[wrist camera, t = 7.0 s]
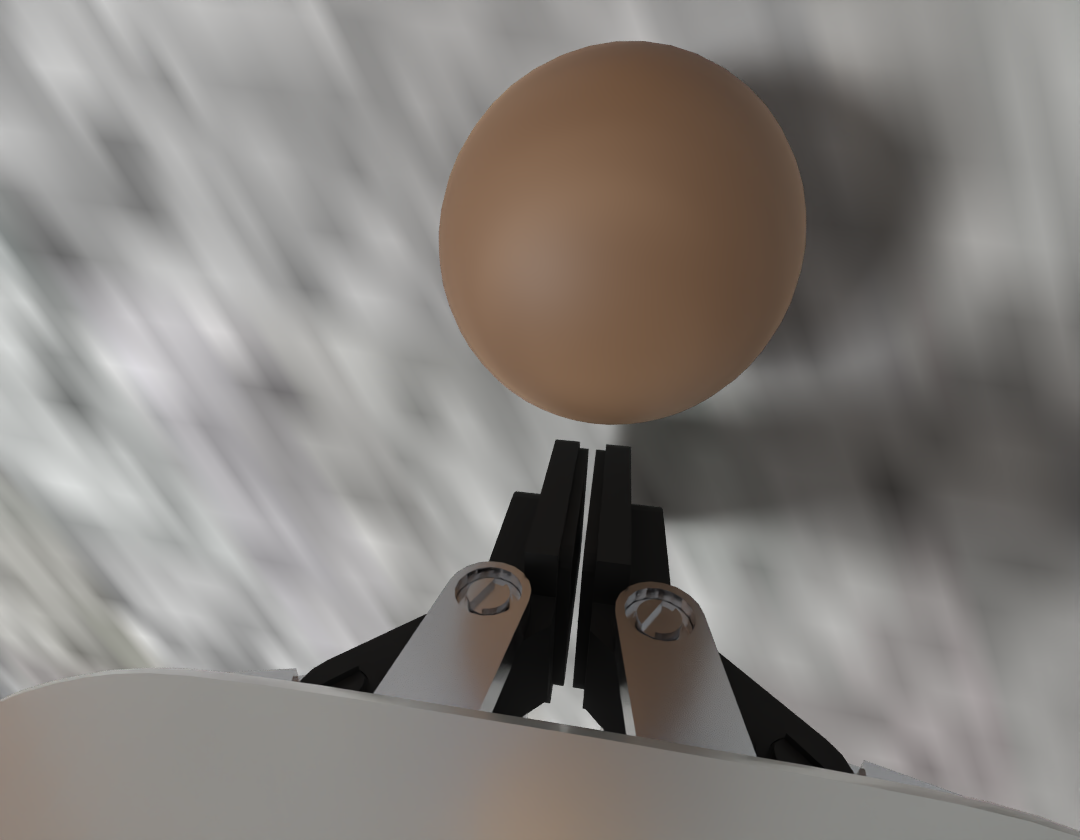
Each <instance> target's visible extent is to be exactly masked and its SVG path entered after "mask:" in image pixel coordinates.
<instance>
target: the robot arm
mask: <svg viewBox="0 0 1080 840" xmlns="http://www.w3.org/2000/svg"><path fill="white" fill-rule="evenodd" d="M588 452H589V449H584V448H580V442H576V441H566V440H556V441H555V444H554V448H553V451H552V455H551V459H550V462H549V466H548V469H547V473H546V476H545V480H544V484H543V487H542V491H541V494H535V493H526V492H517V491H516V492H514V494H513V497H512V499H511V502H510V505H509V508H508V510H507V513H506V516H505V519H504V521H503V524H502V527H501V530H500V532H499V535H498V538H497V541H496V543H495V546H494V549H493V552H492V554H491V557H490V560H489V562H479V563H476V564H473V565H469V566H467V567H465V568H463V569H462V570H460V571H458V572H457V573H456V574H455V575H454V576H453V577H452V578H451V579H450V580H449V582H448V583H447V585H446V586H445V588H444V589H443V591H442V592H441V594H440V595H439V597H438V598H437V600H436V601H435V603H434V604H433V606H432V607H431V609H430V610H429V612H428V613H427V614H425V615H423V616H421V617H419V618H417V619H415V620H413V621H410V622H408V623H406V624H404V625H402V626H400V627H398V628H395V629H393V630H391V631H389V632H387V633H385V634H383V635H380V636H378V637H376V638H374V639H372V640H370V641H368V642H366V643H363V644H361V645H359V646H357V647H355V648H353V649H351V650H348V651H346V652H344V653H342V654H340V655H338V656H336V657H333V658H331V659H329V660H327V661H325V662H324V663H322V664H320V665H319V666H317V667H315V668H314V669H312V670H311V671H310V672H309V673H308V674H307V675H303V676H298V674H297V670H296V669H278V670H259V671H241V672H218V671H208V670H198V669H188V668H136V669H121V670H107V671H101V672H96V673H90V674H84V675H78V676H73V677H67V678H63V679H59V680H55V681H51V682H47V683H43V684H40V685H37V686H34V687H31V688H28V689H25V690H21V691H19V692H16V693H14V694H12V695H10V696H7V697H5V698H3V699H0V840H1080V831H1077V830H1075V829H1072V828H1069V827H1067V826H1064V825H1061V824H1059V823H1056V822H1053V821H1051V820H1048V819H1045V818H1043V817H1040V816H1036V815H1033V814H1029V813H1026V812H1022V811H1019V810H1015V809H1012V808H1009V807H1005V806H1002V805H998V804H995V803H991V802H988V801H983V800H978V799H974V798H969V797H965V796H962V795H959V794H956V793H953V792H951V791H948V790H945V789H942V788H939V787H937V786H934V785H931V784H928V783H926V782H923V781H920V780H917V779H915V778H912V777H909V776H906V775H903V774H901V773H898V772H895V771H892V770H890V769H887V768H884V767H881V766H878V765H876V764H873V763H870V762H867V761H865V760H864V761H863V763H862V765H861V767H857V766H854V765H852V764H849V763H847V761H846V760H845V758H844V757H843V756H842V754H841V753H840V752H839V751H838V750H837V749H836V748H835V747H834V746H833V745H831V744H830V743H829V742H828V741H827V740H826V739H825V738H824V737H823V736H821V735H820V734H819V733H818V732H816V731H815V730H814V729H813V728H811V727H810V726H809V725H808V724H806V723H805V722H804V721H803V720H802V719H800V718H799V717H798V716H797V715H795V714H794V713H793V712H792V711H790V710H789V709H788V708H787V707H786V706H784V705H783V704H782V703H781V702H779V701H778V700H777V699H776V698H774V697H773V696H772V695H771V694H769V693H768V692H767V691H766V690H765V689H763V688H762V687H761V686H760V685H758V684H757V683H756V682H755V681H753V680H752V679H751V678H750V677H749V676H747V675H746V674H745V673H744V672H742V671H741V670H740V669H739V668H737V667H736V666H735V665H734V664H732V663H731V662H730V661H729V660H728V659H726V658H725V657H724V656H723V655H721V654H720V653H719V652H718V650H717V648H716V645H715V642H714V639H713V637H712V634H711V631H710V629H709V626H708V623H707V620H706V618H705V615H704V613H703V611H702V609H701V608H700V606H699V604H698V603H697V602H696V601H695V600H694V599H693V598H692V597H691V596H690V595H688V594H687V593H685V592H684V591H682V590H680V589H679V588H676V587H674V586H671V585H670V575H669V565H668V555H667V546H666V536H665V526H664V516H663V509H662V508H661V507H654V506H645V505H635V504H631V447H628V446H618V445H607V444H606V451H604V450H596V456H595V464H594V473H593V481H592V489H591V498H590V506H589V514H588V523H587V531H586V540H585V548H584V557H583V568H582V579H581V592H580V604H579V617H578V629H577V642H576V654H575V666H574V679H573V687H574V688H580V689H584V699H583V709H586V710H587V711H588V712H589V713H590V715H591V716H592V717H593V718H594V719H595V720H596V722H597V723H598V724H599V725H600V726H601V730H595V729H589V728H582V727H576V726H570V725H564V724H558V723H552V722H546V721H540V720H534V719H528V713H529V712H530V711H532V710H533V709H535V708H536V707H538V706H539V705H541V704H542V703H544V702H546V703H550V700H551V694H552V687H553V684H555V685H561V686H564V680H565V672H566V664H567V657H568V649H569V641H570V633H571V625H572V618H573V610H574V602H575V594H576V586H577V578H578V571H579V563H580V554H581V543H582V530H583V517H584V504H585V491H586V478H587V465H588Z"/></svg>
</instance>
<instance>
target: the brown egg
mask: <svg viewBox="0 0 1080 840" xmlns="http://www.w3.org/2000/svg"><path fill="white" fill-rule="evenodd" d="M805 247H806V206H805V197H804V189H803V183H802V180H801V176H800V172H799V169H798V165H797V162H796V159H795V157H794V154H793V152H792V150H791V148H790V146H789V144H788V141H787V139H786V137H785V135H784V133H783V131H782V128H781V127H780V125H779V124H778V122H777V121H776V119H775V118H774V116H773V115H772V113H771V112H770V110H769V109H768V107H767V106H766V105H765V104H764V103H763V102H762V100H761V99H760V98H759V97H758V96H757V95H756V94H755V93H754V92H753V91H752V90H751V89H750V88H749V87H748V86H747V85H746V84H745V83H743V82H742V81H741V80H739V79H738V78H737V77H735V76H734V75H733V74H731V73H730V72H729V71H727V70H726V69H725V68H723V67H721V66H719V65H717V64H715V63H713V62H712V61H710V60H708V59H706V58H704V57H702V56H700V55H698V54H696V53H693V52H690V51H687V50H684V49H680V48H677V47H674V46H671V45H665V44H659V43H652V42H646V41H616V42H610V43H604V44H598V45H592V46H588V47H585V48H582V49H579V50H576V51H572V52H569V53H566V54H563V55H561V56H559V57H557V58H555V59H553V60H551V61H549V62H547V63H545V64H543V65H541V66H539V67H538V68H536V69H534V70H532V71H531V72H530V73H528V74H527V75H525V76H524V77H523V78H521V79H520V80H518V81H517V82H516V83H514V84H513V85H511V86H510V87H509V88H508V89H507V90H506V91H505V92H504V93H503V94H502V95H501V96H500V97H499V98H498V99H497V100H496V101H495V102H494V103H493V104H492V105H491V106H490V107H489V109H488V110H487V111H486V113H485V114H484V115H483V116H482V118H481V119H480V120H479V121H478V123H477V124H476V126H475V127H474V129H473V130H472V132H471V133H470V135H469V137H468V139H467V140H466V142H465V144H464V146H463V147H462V149H461V151H460V152H459V154H458V157H457V159H456V162H455V164H454V167H453V169H452V172H451V174H450V177H449V180H448V184H447V188H446V192H445V196H444V200H443V205H442V209H441V218H440V227H439V256H440V266H441V273H442V279H443V286H444V289H445V292H446V296H447V299H448V303H449V306H450V308H451V311H452V313H453V315H454V318H455V320H456V322H457V325H458V327H459V329H460V331H461V333H462V335H463V337H464V338H465V340H466V342H467V343H468V345H469V347H470V348H471V350H472V351H473V352H474V353H475V355H476V356H477V357H478V359H479V360H480V361H481V363H482V364H483V365H484V366H485V367H486V368H487V369H488V370H489V371H490V372H491V373H492V374H493V375H494V376H495V377H496V378H497V380H498V381H500V382H501V383H502V384H503V385H504V386H506V387H507V388H508V389H509V390H511V391H512V392H513V393H515V394H516V395H518V396H519V397H521V398H522V399H524V400H525V401H527V402H529V403H531V404H533V405H535V406H537V407H539V408H541V409H543V410H545V411H548V412H550V413H553V414H555V415H558V416H562V417H565V418H569V419H572V420H576V421H582V422H587V423H594V424H606V425H617V424H633V423H642V422H648V421H652V420H657V419H662V418H665V417H668V416H671V415H674V414H677V413H680V412H682V411H684V410H687V409H689V408H691V407H693V406H696V405H697V404H699V403H701V402H703V401H704V400H706V399H708V398H710V397H711V396H713V395H714V394H716V393H717V392H718V391H720V390H721V389H723V388H724V387H725V386H727V385H728V384H729V383H731V382H732V381H733V380H735V379H736V378H737V377H738V376H739V375H740V374H741V373H742V372H743V371H744V370H746V369H747V368H748V367H749V366H750V365H751V363H752V362H753V361H754V360H755V359H756V358H757V356H758V355H759V354H760V353H761V352H762V351H763V349H764V348H765V346H766V345H767V343H768V342H769V341H770V339H771V338H772V336H773V334H774V333H775V331H776V330H777V328H778V327H779V325H780V324H781V322H782V320H783V318H784V316H785V314H786V312H787V310H788V308H789V305H790V303H791V300H792V297H793V294H794V291H795V288H796V285H797V282H798V279H799V276H800V273H801V269H802V263H803V258H804V252H805Z"/></svg>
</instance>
